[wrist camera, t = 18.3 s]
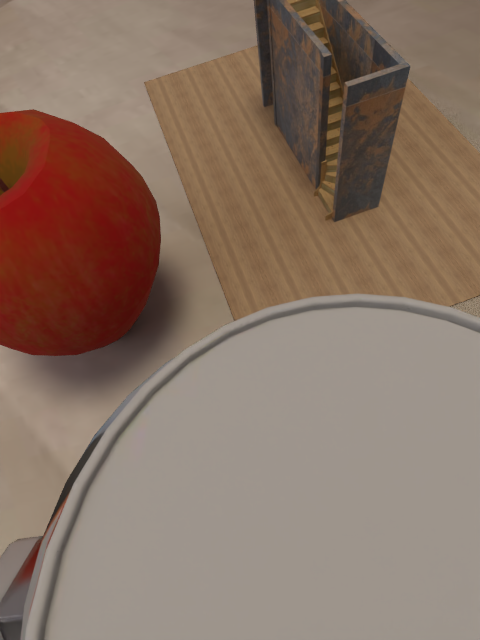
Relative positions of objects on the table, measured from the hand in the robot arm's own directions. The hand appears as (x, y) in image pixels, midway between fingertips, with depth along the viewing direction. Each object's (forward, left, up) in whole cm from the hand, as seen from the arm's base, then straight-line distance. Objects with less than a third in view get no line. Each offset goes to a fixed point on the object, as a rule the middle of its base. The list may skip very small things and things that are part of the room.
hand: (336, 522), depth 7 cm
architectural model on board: (+19, -8, -10) cm, 23 cm away
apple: (+12, +6, -10) cm, 17 cm away
